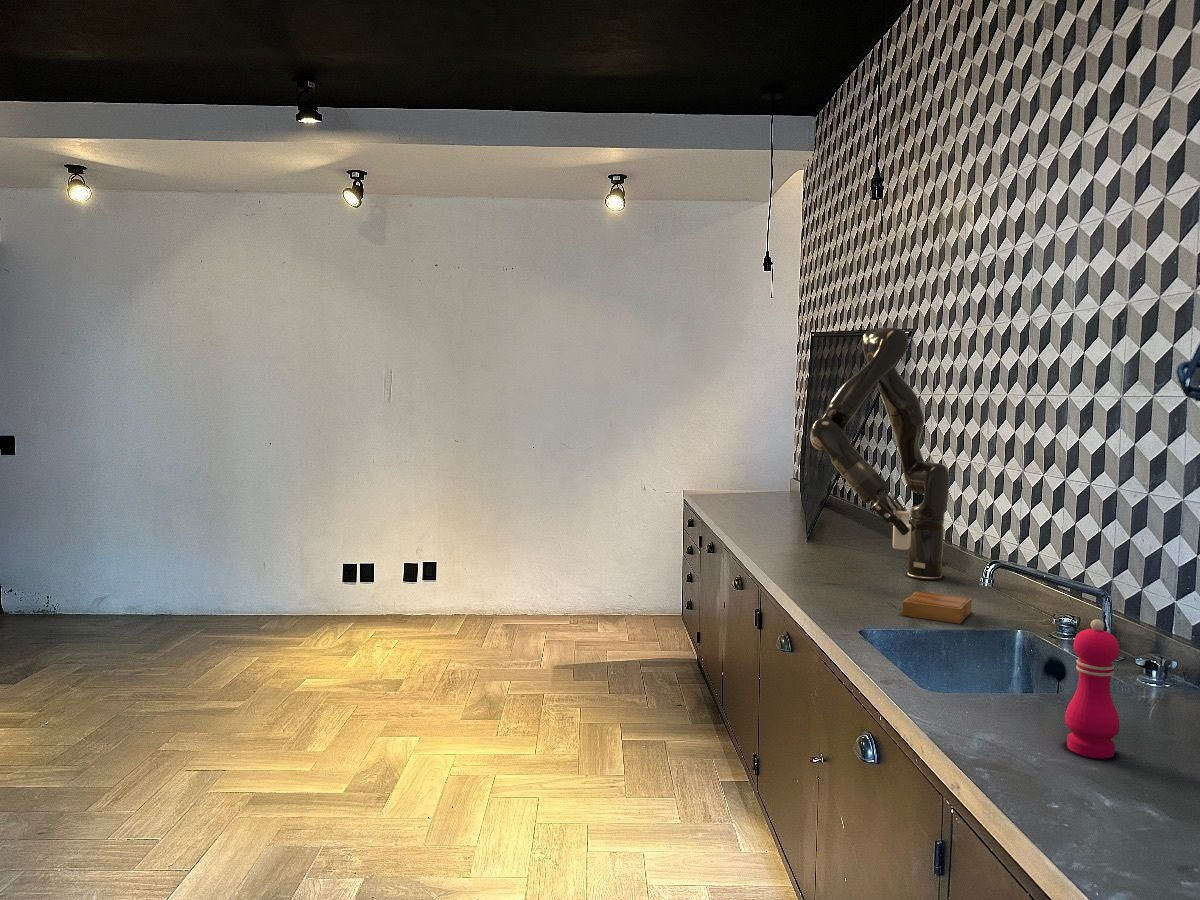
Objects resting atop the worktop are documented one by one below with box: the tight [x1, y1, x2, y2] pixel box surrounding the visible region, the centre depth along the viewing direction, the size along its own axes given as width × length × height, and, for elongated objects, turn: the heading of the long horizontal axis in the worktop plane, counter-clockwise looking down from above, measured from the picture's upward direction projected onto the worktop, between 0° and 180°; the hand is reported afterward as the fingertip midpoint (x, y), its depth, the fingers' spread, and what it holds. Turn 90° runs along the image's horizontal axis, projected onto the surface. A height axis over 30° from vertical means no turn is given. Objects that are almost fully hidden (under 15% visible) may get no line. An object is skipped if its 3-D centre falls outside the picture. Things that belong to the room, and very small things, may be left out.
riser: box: [902, 591, 972, 625], centre depth 219 cm, size 13×13×4 cm
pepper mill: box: [1064, 618, 1121, 760], centre depth 135 cm, size 7×7×20 cm
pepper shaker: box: [892, 510, 911, 551], centre depth 232 cm, size 4×4×10 cm
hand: (909, 531), depth 231 cm, fingers closed on pepper shaker, 4 cm apart
